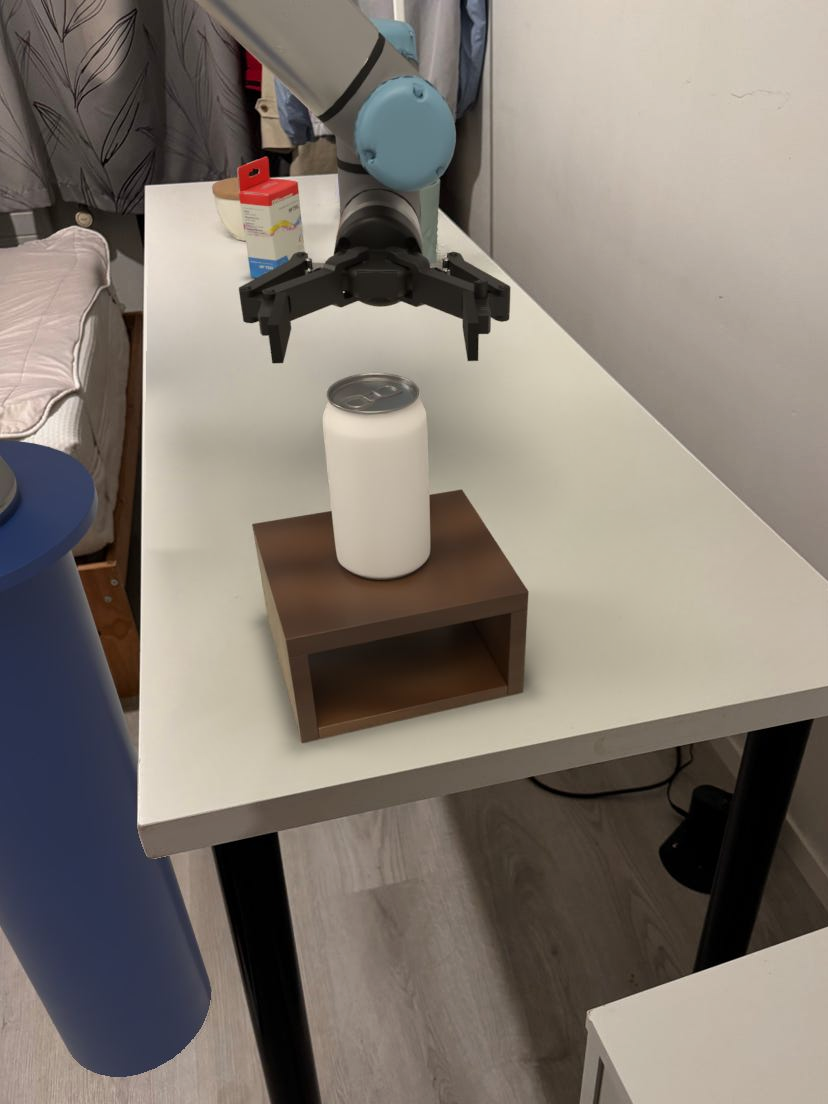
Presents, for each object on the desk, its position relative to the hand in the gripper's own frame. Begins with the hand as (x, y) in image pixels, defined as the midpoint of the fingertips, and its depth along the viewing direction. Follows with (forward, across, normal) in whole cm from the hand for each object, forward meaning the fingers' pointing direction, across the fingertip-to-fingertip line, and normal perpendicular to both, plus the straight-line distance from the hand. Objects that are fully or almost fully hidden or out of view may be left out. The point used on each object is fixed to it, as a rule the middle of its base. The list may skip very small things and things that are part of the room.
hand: (374, 343), depth 64 cm
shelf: (+9, 0, -20) cm, 22 cm away
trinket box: (-98, +23, -20) cm, 103 cm away
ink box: (-80, +17, -20) cm, 85 cm away
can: (+9, 0, -12) cm, 15 cm away
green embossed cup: (-82, -2, -20) cm, 85 cm away
